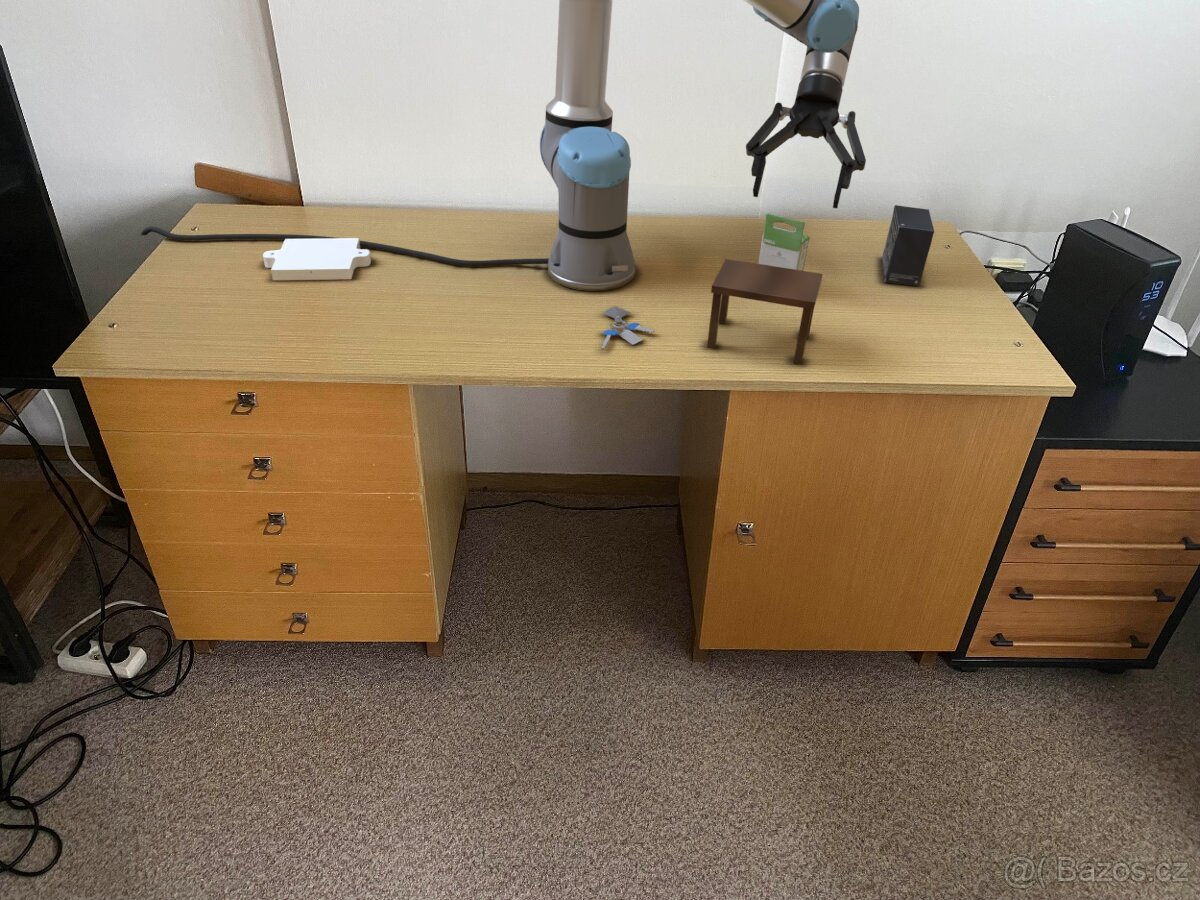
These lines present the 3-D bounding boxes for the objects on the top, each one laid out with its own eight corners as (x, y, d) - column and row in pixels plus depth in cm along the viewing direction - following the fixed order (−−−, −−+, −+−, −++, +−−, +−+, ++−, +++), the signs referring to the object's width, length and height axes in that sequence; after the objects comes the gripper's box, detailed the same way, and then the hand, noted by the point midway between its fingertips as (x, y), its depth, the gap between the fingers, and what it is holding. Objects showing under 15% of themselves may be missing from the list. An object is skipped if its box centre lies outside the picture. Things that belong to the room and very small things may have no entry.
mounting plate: (257, 280, 149) (255, 270, 148) (273, 249, 159) (271, 238, 158) (366, 279, 150) (364, 268, 149) (374, 247, 161) (373, 237, 160)
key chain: (603, 308, 144) (603, 303, 143) (653, 310, 144) (654, 305, 143) (600, 351, 133) (600, 346, 132) (655, 353, 133) (655, 348, 132)
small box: (921, 287, 154) (936, 230, 148) (883, 283, 155) (896, 226, 148) (916, 262, 162) (930, 207, 156) (880, 258, 163) (893, 204, 157)
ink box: (800, 289, 152) (814, 215, 144) (791, 298, 149) (805, 222, 141) (763, 279, 155) (774, 205, 147) (754, 287, 152) (765, 212, 144)
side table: (704, 347, 135) (711, 285, 128) (717, 318, 142) (725, 258, 136) (802, 365, 131) (815, 302, 125) (811, 334, 139) (822, 273, 133)
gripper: (892, 105, 153) (867, 219, 150) (750, 89, 159) (724, 198, 156) (898, 80, 145) (872, 199, 143) (749, 64, 151) (721, 178, 149)
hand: (794, 199), depth 149 cm, fingers open, 13 cm apart
